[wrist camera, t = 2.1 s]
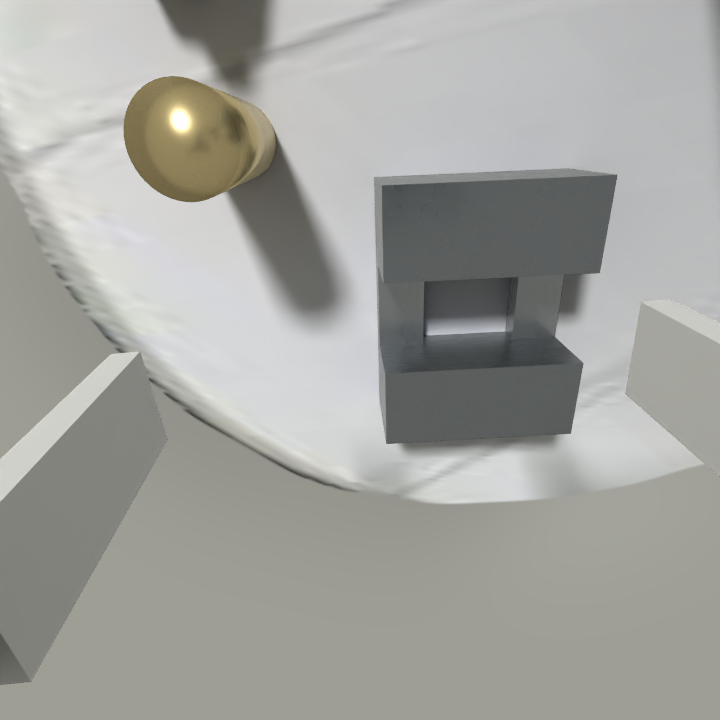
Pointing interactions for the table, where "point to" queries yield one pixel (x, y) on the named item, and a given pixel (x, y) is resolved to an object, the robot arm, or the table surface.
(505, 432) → the jig
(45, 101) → the table surface
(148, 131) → the gold metal cylinder
